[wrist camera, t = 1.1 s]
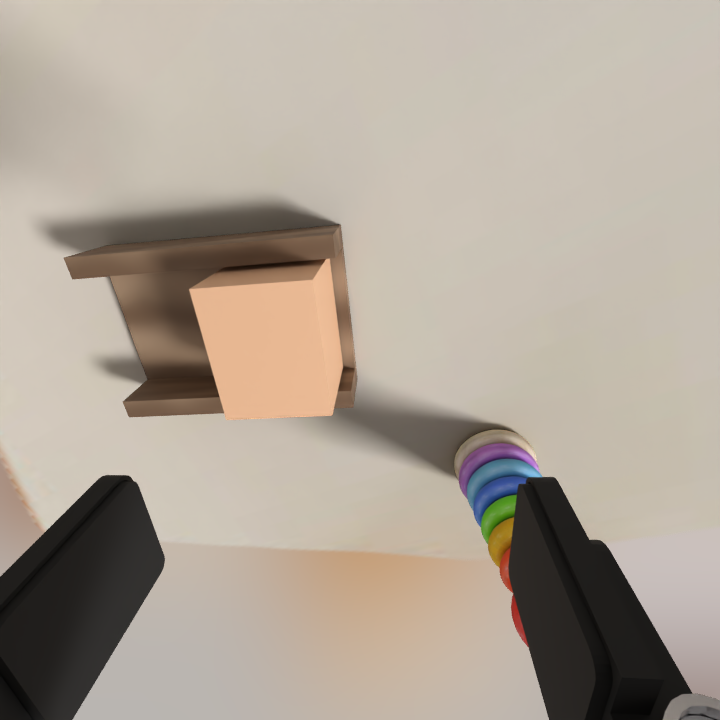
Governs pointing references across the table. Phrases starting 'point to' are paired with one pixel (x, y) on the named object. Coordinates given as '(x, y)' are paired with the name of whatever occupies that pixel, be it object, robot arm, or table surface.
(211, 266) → the chute
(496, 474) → the stacking toy
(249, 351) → the block
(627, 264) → the table surface
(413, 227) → the table surface
